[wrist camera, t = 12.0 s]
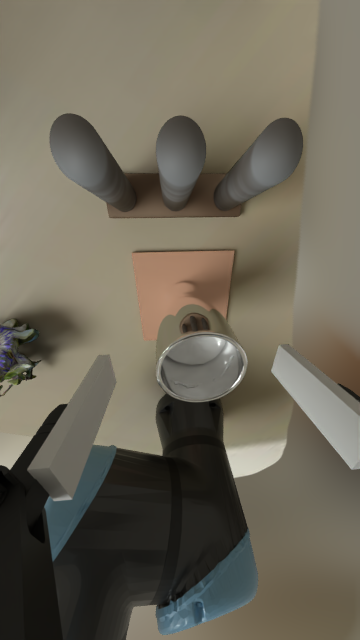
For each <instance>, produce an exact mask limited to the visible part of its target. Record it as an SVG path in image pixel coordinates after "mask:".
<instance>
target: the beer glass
mask: <svg viewBox="0 0 360 640" xmlns="http://www.w3.org/2000/svg"><path fill="white" fill-rule="evenodd" d="M164 304H165V308H166V310H165V312H164V314H163V316H162V318H161V321H160V323H159V327H158V332H157V340H156V378H157V381H158V383H159V385H160V386H161V388H162V389H163V390H164V391H165V392H166V393H167V394H169V395H170V396H172V397H174V398H176V399H178V400H181V401H185V402H196V403H197V402H207V401H212V400H215V399H218V398H220V397H222V396H224V395H226V394H228V393H229V392H231V391H232V390H233V389H235V388H236V387H237V386H238V385H239V383H240V382H241V381H242V379H243V377H244V375H245V373H246V370H247V357H246V353H245V351H244V349H243V348H242V346H241V345H240V343H239V341H238V339H237V337H236V336H235V334H234V332H233V330H232V328H231V327H230V325H229V324H228V322H227V321H226V319H225V318H224V317H223V315H222V314H221V313H220V312H219V311H218V310H217V309H216V308H215V307H214V306H213V305H212V304H210V303H209V302H207V301H206V300H204V297H203V294H202V292H201V290H200V289H199V288H198V287H197V286H196V285H194V284H192V283H189V282H180V283H177V284H175V285H173V286H172V287H171V288H170V289H169V290H168V291H167V293H166V295H165V299H164Z"/></svg>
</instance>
